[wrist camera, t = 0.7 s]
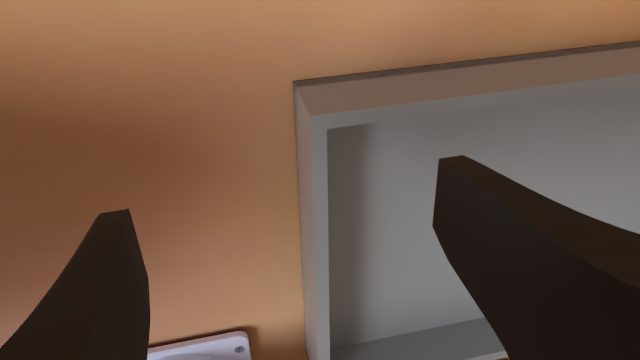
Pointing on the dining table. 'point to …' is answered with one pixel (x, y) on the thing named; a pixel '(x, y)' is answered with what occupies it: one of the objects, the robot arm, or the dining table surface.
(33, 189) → the dining table surface
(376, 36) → the dining table surface
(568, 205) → the box
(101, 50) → the dining table surface
